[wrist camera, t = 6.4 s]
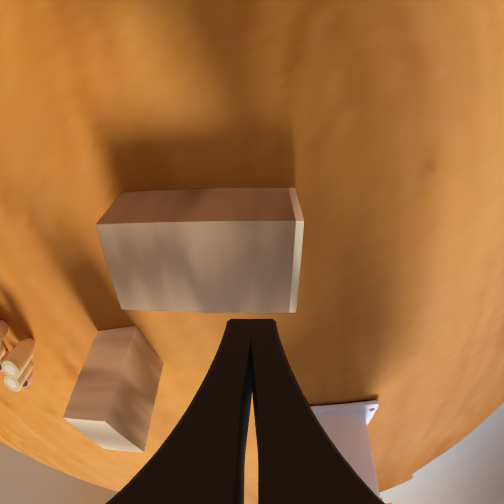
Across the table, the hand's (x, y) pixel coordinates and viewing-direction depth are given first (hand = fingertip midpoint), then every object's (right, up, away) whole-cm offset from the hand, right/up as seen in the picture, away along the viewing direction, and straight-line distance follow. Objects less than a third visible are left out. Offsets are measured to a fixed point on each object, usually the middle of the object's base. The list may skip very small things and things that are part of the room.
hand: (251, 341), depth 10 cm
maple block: (-8, -4, +11) cm, 14 cm away
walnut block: (+2, +3, +4) cm, 6 cm away
